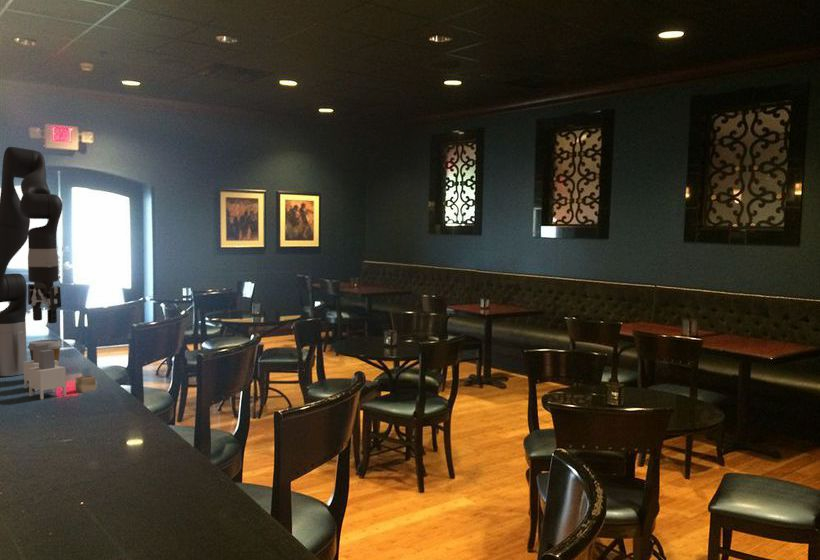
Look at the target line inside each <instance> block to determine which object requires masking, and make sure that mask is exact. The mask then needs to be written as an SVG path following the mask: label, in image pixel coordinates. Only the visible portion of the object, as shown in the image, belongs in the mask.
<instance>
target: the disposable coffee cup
mask: <svg viewBox="0 0 820 560" xmlns="http://www.w3.org/2000/svg"><path fill="white" fill-rule="evenodd" d="M37 344H47V345H48V349H50V350H54V358H55V360H57V361H60V352H61V347H62V343H61V341H60V340H59V339H41V340H40V339H39V340H32V341H30V342H29V343H28V346H27V348H28V350H29V354H30V355H29V356H30V359H31V360H30V361H33V345H37Z"/></svg>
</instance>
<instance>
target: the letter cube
mask: <svg viewBox="0 0 820 560" xmlns="http://www.w3.org/2000/svg"><path fill="white" fill-rule="evenodd" d="M74 381H75V383H74V385H75V386H74V387H75V391H76V392H80V393H87V391H88V392H92V390H93V391H96V390H97V385H96V381H97V380H96V376H92V375H87V374H86V375H83V376H76V377H74Z"/></svg>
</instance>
